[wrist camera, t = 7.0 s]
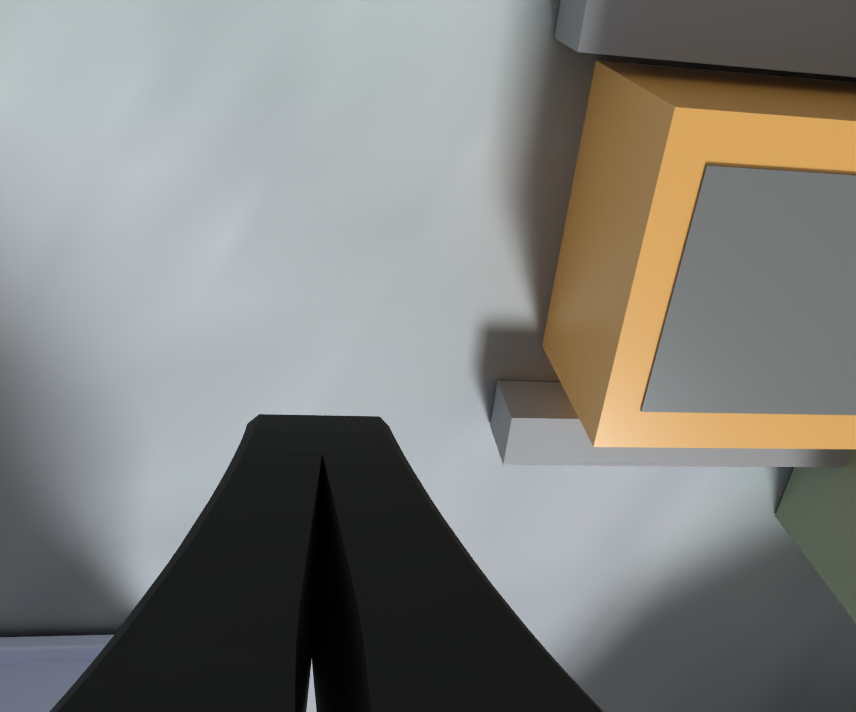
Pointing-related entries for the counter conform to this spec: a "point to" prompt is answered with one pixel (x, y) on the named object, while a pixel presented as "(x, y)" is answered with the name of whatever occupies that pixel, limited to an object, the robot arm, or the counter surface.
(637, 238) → the orange square frame
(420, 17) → the counter surface
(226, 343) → the counter surface
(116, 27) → the counter surface
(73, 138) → the counter surface
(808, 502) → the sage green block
